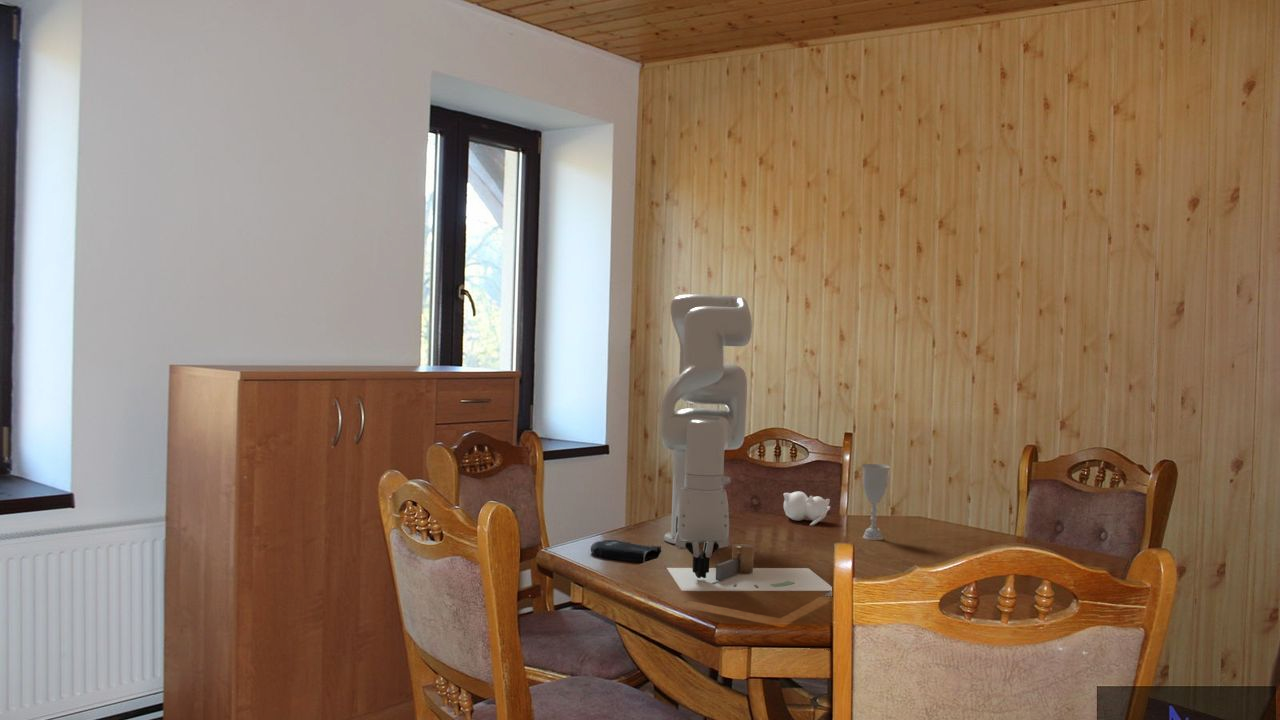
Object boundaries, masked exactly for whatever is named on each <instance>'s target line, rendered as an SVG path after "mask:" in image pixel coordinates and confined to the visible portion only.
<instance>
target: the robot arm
mask: <svg viewBox="0 0 1280 720" xmlns="http://www.w3.org/2000/svg"><path fill="white" fill-rule="evenodd" d="M750 311H751V310H750V308H749V305H748V302H747V300H746V299H745V298H744V297H741V296H739V295H720V294H719V295H717V294H701V293H700V294H699V293H698V294H695V293H692V294H691V293H690V294H680V295H678V296H675V297H674V298H672V300H671V302H670V316H671V322H672V325H673V327H674V330H675V332H676V334H677V338H678V342H679V370H678V376H677V377H675V378H674V379H673V380H672V381H671V383H670V384H669V386H668V387H667V389H666V391H665V393H664V395H663V399H662V401H661V402H662V403H661V408H660V409H661V410H660V440H661V443H662V446H663V447H664V448H665V449H666V450H668V451H671V452H673V458H672V459H673V460H672V462H673V463H672V464H673V466H672V467H673V470H672V493H671V494H672V495H671V496H672V497H671V498H672V499H671V525H670V528H671V529H670V531H669V532H666V533H665V534H664V541H665V542H667V543H670V544H674V545H675V546H676V547H679V548H683V549H686V550H688V552H689V553H690V554H691V555H692V568H693V573H695V575H696V576H697V578H701V577H703V578H706V573H709V568H710V558H711V557H712V555H713V554H714V553H715V552H716V551H717V550H719V549H723V548H726V547H729V546H730V541H729V533H730V517H729V516H730V515H729V503H728V501H729V500H728V496H727V490H726V489H724V488H725V485H730V484H731V482H732V480H731V477H729V476H725V474H724V472H725V471H724V470H725V469H724V468H725V450H729V451H730V450H731V451H732V450H738V449H739V448H741V447H742V446H743V444H744V441H745V438H746V437H745V436H746V418H747V416H746V415H747V402H748V401H747V399H748V395H747V394H748V383H747V382H748V381H747V375H746V372H745V370H744V369H743V367H741V366H739V365H736V364H726V363H725V362H724V361H725V360H724V347H745V346H747V345H748V344H749V343H750V341H751V339H752V333H753V322H752V316H751V315H752V314H751V312H750ZM724 363H725V364H724ZM680 399H681V400H683V402H685V403H689V404H697V405H714V406H715V405H719V406H720V405H723V406H724V407H726V409H723V408H722V409H720V408H706V407H705V408H703V407H701V408H699V407H687V408H682V409H679V410H677V411H676V412H675V409H676V404H677V402H678V401H679V400H680ZM702 544H703V548H702V549H703V550H702V552H701V553H700V546H699V545H702Z"/></svg>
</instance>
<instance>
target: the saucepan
mask: <svg viewBox="0 0 1280 720" xmlns="http://www.w3.org/2000/svg"><path fill="white" fill-rule="evenodd" d="M754 554H755V546H754V545H751V544H748V543H735V544H732V547H731V558H730V559H728V560H726V561H722V562H721V563H717V564H715V568H716V580H718V581H721V580H724V579H726V578H729V577H731V576H733V575H736V574H738V573H752V572H753V568H754V556H755V555H754Z"/></svg>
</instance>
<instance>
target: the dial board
mask: <svg viewBox="0 0 1280 720" xmlns="http://www.w3.org/2000/svg"><path fill="white" fill-rule="evenodd" d="M666 569H667V571H668V573H669V574H670V575H671V577H672V578H673V580H674V581H675V583H676V585H677V586H678V587H679V589H680V590H681V592H771V591H772V592H813V591H814V592H826V593H824V594H823V595H820V596H819V597H820V598H827V596H828V598H833V597H832V587H833V586H832V585H830V584H829V583H828V582H827V581H825V579H823V578H822V577H820V576H819V575H818V574H817V573H815V572H814V571H813V570H811V569H810V568H809V567H802V568H801V567H795V568H794V567H771V568H770V567H753V572H752V573H738V574H736V575H733V576H731V577H729V578H726V579H724V580H721V581H718V580H716V567H709V573H706V578H703V577H701V578H697V576H696V575H695V573H693V567H666ZM827 591H828V592H827ZM825 596H826V597H825ZM830 596H831V597H830Z"/></svg>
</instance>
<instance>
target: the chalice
mask: <svg viewBox="0 0 1280 720" xmlns="http://www.w3.org/2000/svg"><path fill="white" fill-rule="evenodd" d="M861 468H862V469H863V470H862V472H863V473H862V488H863V490H864V493H865V495H866V499H867V501H868V502H869V503H871V506H872V507H871V510H870V512H871V516H870V518H869V519H870V521H871V525H870V526H869V527H867V528H866V529H865V531H864V532H863V536H862V539H865V540H871V541H882V540H884V538H883V536H882V535H883V534H882V533H881V530H880V528H877V526H876V522H877V520H878V518H877V512H878V511H877V504H879V503H881V502H882V501H881V500H882V499H883V498H884V495H885V494H886V491H887V488H888V478H889V470H890V469H891V466H890V465H884V464H875V463H874V464H873V463H863V464H861Z"/></svg>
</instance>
